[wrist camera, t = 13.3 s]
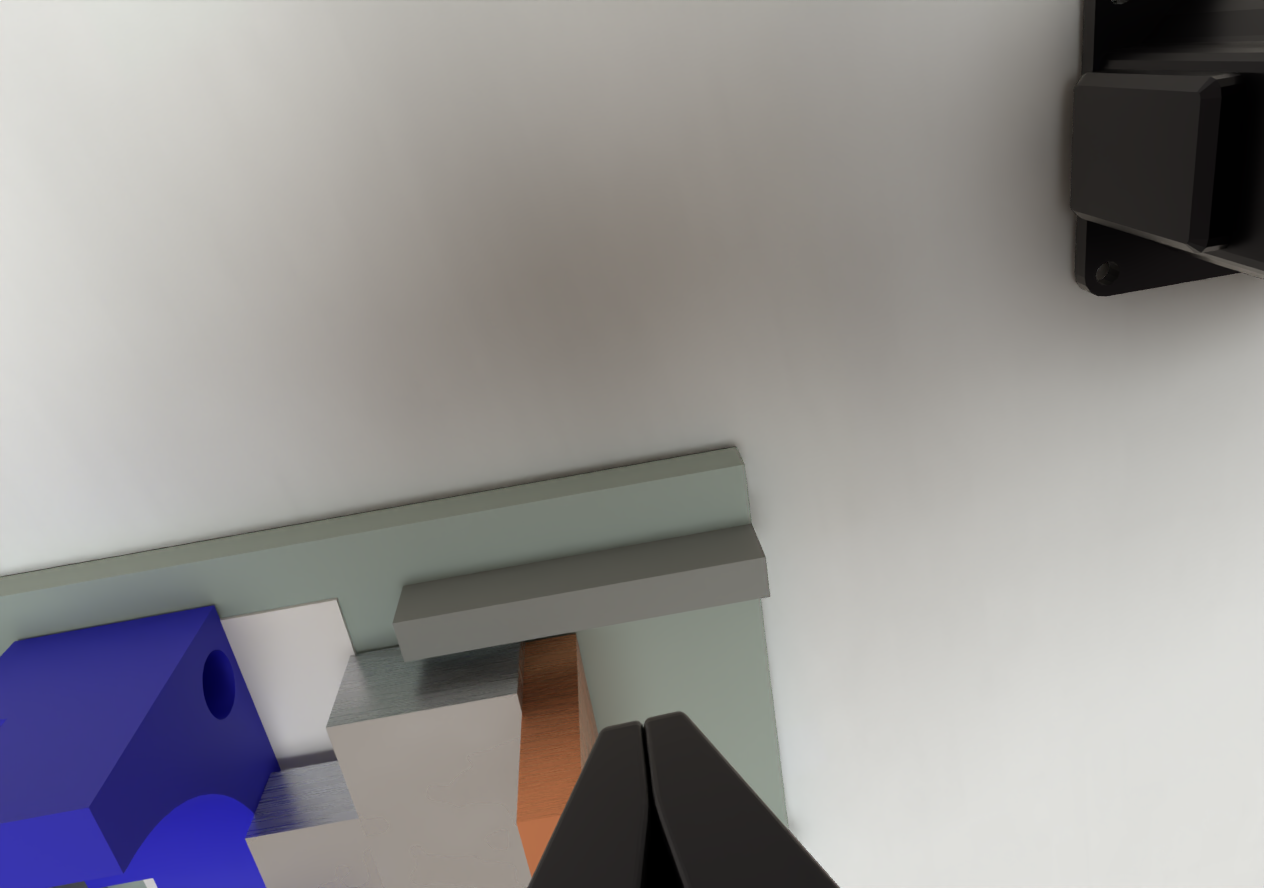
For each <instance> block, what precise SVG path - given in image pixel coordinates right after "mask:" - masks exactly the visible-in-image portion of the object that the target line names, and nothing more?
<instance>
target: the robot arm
mask: <svg viewBox="0 0 1264 888" xmlns="http://www.w3.org/2000/svg"><path fill="white" fill-rule="evenodd" d="M1070 207H1071V209H1072V210H1073V211H1074V212H1075V213H1076V214H1077V227H1076V255H1075V277H1076V282H1077V283H1078V285H1079V286H1080V288H1082V289H1084V290H1086V291H1088V292H1090V293H1092V294H1094V295H1097V296H1111V295H1116V294H1122V293H1128V292H1133V291H1139V290H1145V289H1150V288H1156V287H1162V286H1167V285H1173V284H1179V283H1184V282H1190V281H1196V280H1201V279H1207V278H1213V277H1218V276H1224V275H1230V274H1235V273H1241V272H1242V273H1245V274H1249V275H1252V276H1255V277H1258V278H1261V279H1264V0H1117V2H1116V3H1113V2H1112V1H1111V0H1084V25H1083V54H1082V77H1081V78H1080V80H1079V81H1078V83H1077V84H1076V86H1075V88H1074V102H1073V134H1072V165H1071V197H1070ZM1106 262H1108V264H1109V270H1108V273H1107V274H1106V276H1105V277H1104V278H1103V279H1101V280H1098V281H1097V279H1096V273H1097V269H1098V268H1099V267H1100V266H1101V265H1102V264H1104V263H1106ZM527 888H840V887H839V886H838V885H837V884H836V883H835V881H834V880H833V879H832V878H831V877H830V876H829V875H828V873H827V872H826V871H825V870H824V869H823V868H822V867H821V866H820V864H819V863H818V862H817V861H816V860H815V859H814V858H813V857H812V855H811V854H810V853H809V852H808V851H807V850H806V849H805V848H804V846H803V845H802V844H801V843H800V842H799V841H798V840H797V838H796V837H795V836H794V835H793V834H792V833H791V832H790V831H789V829H788V828H787V827H786V826H785V825H784V824H783V823H782V822H781V820H780V819H779V818H778V817H777V816H776V815H775V814H774V812H773V811H772V810H771V809H770V808H769V807H768V806H767V805H766V803H765V802H764V801H763V800H762V799H761V798H760V797H759V796H758V794H757V793H756V792H755V791H754V790H753V789H752V788H751V786H750V785H749V784H748V783H747V782H746V781H745V780H744V779H743V777H742V776H741V775H740V774H739V773H738V772H737V771H736V770H735V768H734V767H733V766H732V765H731V764H730V763H729V762H728V761H727V759H726V758H725V757H724V756H723V755H722V754H721V753H720V751H719V750H718V749H717V748H716V747H715V746H714V745H713V744H712V742H711V741H710V740H709V739H708V738H707V737H706V736H705V735H704V733H703V732H702V731H701V730H700V729H699V728H698V727H697V725H696V724H695V723H694V722H693V721H692V720H691V719H690V718H689V716H688V715H686V714H685V713H684V712H681V711H676V712H672V713H667V714H662V715H658V716H653V717H649V718H647V719H646V720H645V723H644V726H643V724H642V723H641V722H640V721H630V722H626V723H621V724H617V725H612V726H607V727H605V728H603V729H602V730H601V731H600V733H599V735H598V737H597V739H596V741H595V743H594V745H593V748H592V750H591V752H590V754H589V756H588V758H587V760H586V763H585V765H584V767H583V769H582V771H581V773H580V775H579V778H578V780H577V782H576V784H575V786H574V788H573V790H572V793H571V795H570V797H569V799H568V801H567V803H566V805H565V808H564V810H563V812H562V814H561V816H560V818H559V820H558V823H557V825H556V827H555V829H554V831H553V833H552V835H551V838H550V840H549V842H548V844H547V846H546V848H545V850H544V853H543V855H542V857H541V859H540V861H539V863H538V865H537V868H536V870H535V872H534V874H533V876H532V878H531V880H530V883H529V885H528V887H527Z"/></svg>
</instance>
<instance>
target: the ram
mask: <svg viewBox="0 0 1264 888" xmlns="http://www.w3.org/2000/svg"><path fill="white" fill-rule="evenodd" d="M326 730H327V733H328V736H329V739H330V741H331V744H332V747H333V749H334V752H335V755H336V758H337V760H338V761H333V762H327V763H322V764H316V765H310V766H305V767H299V768H294V769H288V770H283V771H277V772H272V773H271V774H270V777H269V779H268V782H267V784H266V787H265V789H264V792H263V794H262V797H261V799H260V802H259V804H258V807H257V809H256V812H255V814H254V817H253V820H252V822H251V825H250V827H249V830H248V832H247V835H246V837H245V840H246V842H247V845H248V847H249V849H250V851H251V854H252V856H253V858H254V861H255V863H256V865H257V867H258V870H259V872H260V874H261V876H262V879H263V881H264V883H265V886H266V888H527V887H528V885H529V883H530V880H531V878H532V876H533V874H534V872H535V870H536V868H537V865H538V863H539V861H540V859H541V857H542V855H543V853H544V850H545V848H546V846H547V844H548V842H549V840H550V838H551V835H552V833H553V831H554V829H555V827H556V825H557V823H558V820H559V818H560V816H561V814H562V812H563V810H564V808H565V805H566V803H567V801H568V799H569V797H570V795H571V793H572V790H573V788H574V786H575V784H576V782H577V780H578V778H579V775H580V773H581V771H582V769H583V767H584V765H585V763H586V760H587V758H588V756H589V754H590V752H591V750H592V748H593V745H594V743H595V741H596V739H597V737H598V731H597V727H596V722H595V718H594V713H593V709H592V704H591V699H590V695H589V690H588V686H587V681H586V677H585V672H584V668H583V663H582V659H581V654H580V649H579V645H578V640H577V636H576V633H575V634H570V635H564V636H558V637H553V638H547V639H542V640H536V641H531V642H525V641H520V642H514V643H508V644H503V645H497V646H492V647H486V648H481V649H475V650H469V651H464V652H458V653H453V654H447V655H441V656H436V657H430V658H425V659H419V660H413V661H408V662H404V659H403V656H402V653H401V650H400V647H394V648H388V649H382V650H377V651H371V652H366V653H360V654H355V655H350V658H349V661H348V664H347V667H346V669H345V672H344V675H343V678H342V681H341V684H340V687H339V690H338V693H337V696H336V699H335V702H334V705H333V708H332V711H331V714H330V716H329V719H328V722H327V725H326Z"/></svg>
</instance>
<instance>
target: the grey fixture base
mask: <svg viewBox="0 0 1264 888" xmlns="http://www.w3.org/2000/svg"><path fill="white" fill-rule="evenodd" d="M765 597H770V591H769V583H768V574H767V565H766V557H765V555H764V552H763V550H762V547H761V545H760V543H759V540H758V538H757V536H756V533H755V531H754V528H753V526H752V523H751V515H750V507H749V499H748V490H747V482H746V474H745V465H744V463H743V460H742V458H741V456H740V454H739V452H738V450H737V447H732V448H726V449H720V450H715V451H709V452H704V453H698V454H692V455H687V456H681V457H675V458H670V459H664V460H659V461H653V462H647V463H642V464H636V465H630V466H625V467H619V468H613V469H608V470H602V471H597V472H591V473H585V474H580V475H574V476H568V477H563V478H557V479H551V480H546V481H540V482H535V483H529V484H523V485H518V486H512V487H506V488H501V489H495V490H489V491H484V492H478V493H473V494H467V495H461V496H456V497H450V498H444V499H439V500H433V501H427V502H422V503H416V504H411V505H405V506H399V507H394V508H388V509H382V510H377V511H371V512H365V513H360V514H354V515H349V516H343V517H337V518H332V519H326V520H320V521H315V522H309V523H304V524H298V525H292V526H287V527H281V528H275V529H270V530H264V531H258V532H253V533H247V534H242V535H236V536H230V537H225V538H219V539H213V540H208V541H202V542H196V543H191V544H185V545H180V546H174V547H168V548H163V549H157V550H151V551H146V552H140V553H134V554H129V555H123V556H118V557H112V558H106V559H101V560H95V561H89V562H84V563H78V564H72V565H67V566H61V567H56V568H50V569H44V570H39V571H33V572H27V573H22V574H16V575H10V576H5V577H0V656H1V655H2V654H3V653H4V652H5V651H6V650H7V649H8V648H9V647H10V646H11V644H12V643H13V642H14V641H19V640H24V639H30V638H35V637H41V636H46V635H52V634H58V633H63V632H69V631H74V630H80V629H85V628H91V627H96V626H102V625H107V624H113V623H118V622H124V621H129V620H135V619H140V618H146V617H151V616H157V615H162V614H168V613H173V612H179V611H184V610H190V609H196V608H201V607H207V606H212V605H214V606H215V608H216V611H217V613H218V615H219V618H220V621H221V624H222V626H223V629H224V631H225V634H226V636H227V638H228V641H229V643H230V646H231V648H232V651H233V653H234V656H235V658H236V661H237V663H238V665H239V668H240V670H241V673H242V675H243V678H244V680H245V683H246V685H247V688H248V690H249V692H250V695H251V697H252V700H253V702H254V705H255V707H256V710H257V712H258V715H259V717H260V719H261V722H262V724H263V727H264V729H265V732H266V734H267V737H268V739H269V742H270V744H271V746H272V749H273V751H274V754H275V756H276V759H277V761H278V764H279V766H280V769H281V771H283V770H288V769H294V768H299V767H305V766H310V765H316V764H322V763H327V762H333V761H338V760H337V758H336V755H335V752H334V749H333V747H332V744H331V741H330V739H329V736H328V733H327V730H326V725H327V722H328V719H329V716H330V714H331V711H332V708H333V705H334V702H335V699H336V696H337V693H338V690H339V687H340V684H341V681H342V678H343V675H344V672H345V669H346V667H347V664H348V661H349V658H350V655H355V654H360V653H366V652H371V651H377V650H382V649H388V648H394V647H400V650H401V653H402V656H403V659H404V662H408V661H413V660H419V659H425V658H430V657H436V656H441V655H447V654H453V653H458V652H464V651H469V650H475V649H481V648H486V647H492V646H497V645H503V644H508V643H514V642H520V641H525V642H531V641H536V640H542V639H547V638H553V637H558V636H564V635H570V634H575V633H576V636H577V640H578V645H579V649H580V654H581V659H582V663H583V668H584V672H585V677H586V681H587V686H588V690H589V695H590V699H591V704H592V709H593V713H594V718H595V722H596V727H597V731H598V735H599V733H600V731H601V730H602V729H603V728H605V727H607V726H612V725H617V724H621V723H626V722H630V721H640V722H641V723H642V724H643V726H644V723H645V720H646V719H647V718H649V717H653V716H658V715H662V714H667V713H672V712H676V711H681V712H684V713H685V714H686V715H688V716H689V718H690V719H691V720H692V721H693V722H694V723H695V724H696V725H697V727H698V728H699V729H700V730H701V731H702V732H703V733H704V735H705V736H706V737H707V738H708V739H709V740H710V741H711V742H712V744H713V745H714V746H715V747H716V748H717V749H718V750H719V751H720V753H721V754H722V755H723V756H724V757H725V758H726V759H727V761H728V762H729V763H730V764H731V765H732V766H733V767H734V768H735V770H736V771H737V772H738V773H739V774H740V775H741V776H742V777H743V779H744V780H745V781H746V782H747V783H748V784H749V785H750V786H751V788H752V789H753V790H754V791H755V792H756V793H757V794H758V796H759V797H760V798H761V799H762V800H763V801H764V802H765V803H766V805H767V806H768V807H769V808H770V809H771V810H772V811H773V812H774V814H775V815H776V816H777V817H778V818H779V819H780V820H781V822H782V823H783V824H784V825H785V826H786V827H787V828H788V821H787V813H786V805H785V796H784V788H783V780H782V772H781V763H780V755H779V747H778V738H777V730H776V722H775V714H774V705H773V697H772V689H771V681H770V672H769V664H768V656H767V647H766V639H765V631H764V623H763V614H762V606H761V598H765ZM49 888H88V887H87V885H86V883H85V882H84V881H82V882H76V883H71V884H66V885H60V886H55V887H49ZM102 888H157V886H156V884H155V882H154V879H153V878H151V879H145V880H140V881H134V882H129V883H124V884H118V885H113V886H107V887H102Z"/></svg>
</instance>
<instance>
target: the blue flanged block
mask: <svg viewBox="0 0 1264 888" xmlns="http://www.w3.org/2000/svg"><path fill="white" fill-rule="evenodd" d="M277 771H281V769H280V766H279V764H278V761H277V759H276V756H275V754H274V751H273V749H272V746H271V744H270V742H269V739H268V737H267V734H266V732H265V729H264V727H263V724H262V722H261V719H260V717H259V715H258V712H257V710H256V707H255V705H254V702H253V700H252V697H251V695H250V692H249V690H248V688H247V685H246V683H245V680H244V678H243V675H242V673H241V670H240V668H239V665H238V663H237V661H236V658H235V656H234V653H233V651H232V648H231V646H230V643H229V641H228V638H227V636H226V634H225V631H224V629H223V626H222V624H221V621H220V618H219V615H218V613H217V611H216V608H215V606H214V605H212V606H207V607H201V608H196V609H190V610H184V611H179V612H173V613H168V614H162V615H157V616H151V617H146V618H140V619H135V620H129V621H124V622H118V623H113V624H107V625H102V626H96V627H91V628H85V629H80V630H74V631H69V632H63V633H58V634H52V635H46V636H41V637H35V638H30V639H24V640H19V641H14V642H13V643H12V644H11V646H10V647H9V648H8V649H7V650H6V651H5V652H4V653H3V654H2V655H1V656H0V888H49V887H55V886H60V885H66V884H71V883H76V882H82V881H84V882H85V883H86V885H87V887H88V888H102V887H107V886H113V885H118V884H124V883H129V882H134V881H140V880H145V879H151V878H153V879H154V882H155V884H156V886H157V888H266V886H265V883H264V881H263V879H262V876H261V874H260V872H259V870H258V867H257V865H256V863H255V861H254V858H253V856H252V854H251V851H250V849H249V847H248V845H247V842H246V840H245V837H246V835H247V832H248V830H249V827H250V825H251V822H252V820H253V817H254V814H255V812H256V809H257V807H258V804H259V802H260V799H261V797H262V794H263V792H264V789H265V787H266V784H267V782H268V779H269V777H270V774H271V773H272V772H277Z"/></svg>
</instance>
